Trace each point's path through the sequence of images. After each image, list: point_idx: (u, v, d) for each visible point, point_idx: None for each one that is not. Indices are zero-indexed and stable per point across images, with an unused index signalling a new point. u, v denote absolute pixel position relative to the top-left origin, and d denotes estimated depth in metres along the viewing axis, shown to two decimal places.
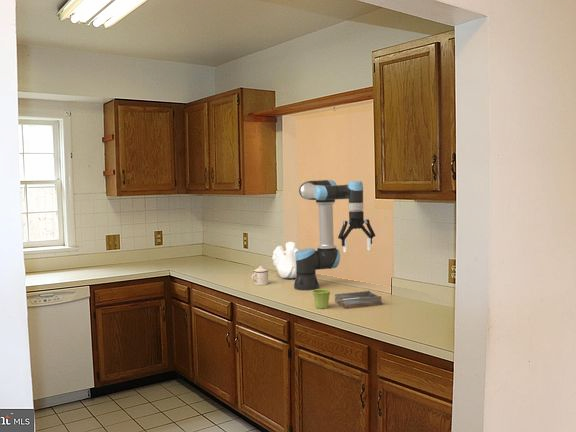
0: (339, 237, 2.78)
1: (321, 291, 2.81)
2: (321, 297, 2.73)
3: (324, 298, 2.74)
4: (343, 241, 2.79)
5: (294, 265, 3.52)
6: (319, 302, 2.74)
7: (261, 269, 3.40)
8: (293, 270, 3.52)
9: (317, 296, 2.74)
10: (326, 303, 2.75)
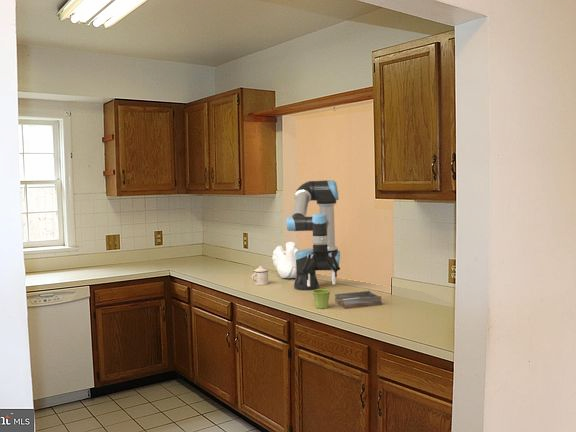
0: (302, 271, 2.72)
1: (321, 291, 2.81)
2: (321, 297, 2.73)
3: (324, 298, 2.74)
4: (306, 275, 2.73)
5: (294, 265, 3.52)
6: (319, 302, 2.74)
7: (261, 269, 3.40)
8: (293, 270, 3.52)
9: (317, 296, 2.74)
10: (326, 303, 2.75)
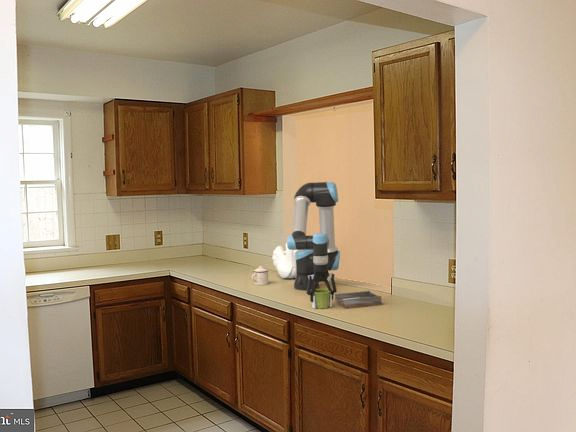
0: (307, 293, 2.74)
1: (321, 291, 2.81)
2: (321, 296, 2.73)
3: (324, 298, 2.74)
4: (311, 297, 2.75)
5: (294, 265, 3.52)
6: (319, 302, 2.74)
7: (261, 269, 3.40)
8: (293, 270, 3.52)
9: (317, 296, 2.74)
10: (326, 303, 2.75)
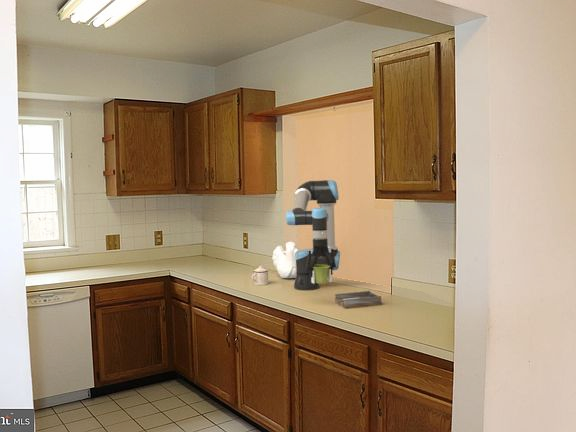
0: (307, 268, 2.73)
1: (320, 267, 2.81)
2: (320, 271, 2.73)
3: (323, 273, 2.73)
4: (311, 272, 2.74)
5: (294, 265, 3.52)
6: (318, 277, 2.74)
7: (261, 269, 3.40)
8: (293, 270, 3.52)
9: (316, 271, 2.73)
10: (325, 278, 2.74)
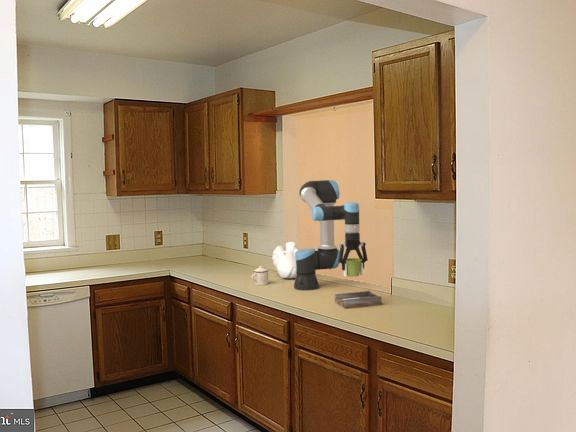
0: (339, 261, 2.78)
1: (352, 260, 2.85)
2: (353, 265, 2.77)
3: (356, 266, 2.78)
4: (343, 265, 2.79)
5: (294, 265, 3.52)
6: (351, 270, 2.78)
7: (261, 269, 3.40)
8: (293, 270, 3.52)
9: (349, 264, 2.78)
10: (357, 271, 2.79)
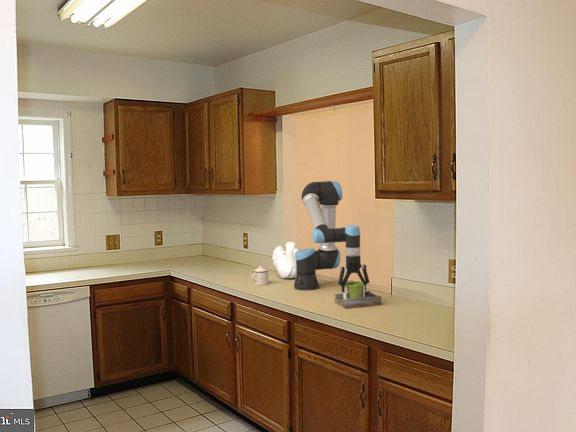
0: (339, 284, 2.79)
1: (353, 284, 2.86)
2: (355, 289, 2.78)
3: (358, 290, 2.79)
4: (343, 287, 2.80)
5: (294, 265, 3.52)
6: (353, 295, 2.79)
7: (261, 269, 3.40)
8: (293, 270, 3.52)
9: (351, 289, 2.79)
10: (360, 295, 2.80)
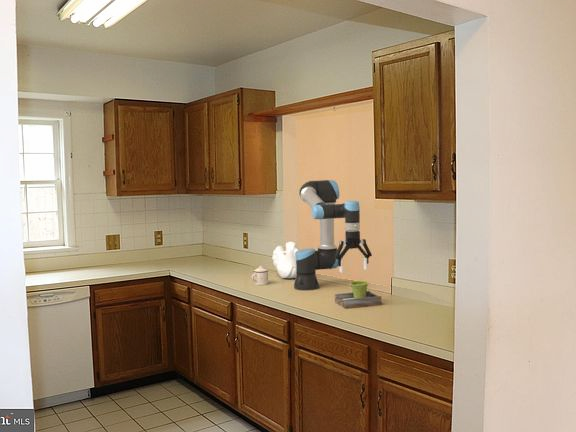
0: (335, 257, 2.77)
1: (358, 283, 2.87)
2: (359, 288, 2.79)
3: (362, 290, 2.80)
4: (339, 261, 2.78)
5: (294, 265, 3.52)
6: (357, 294, 2.80)
7: (261, 269, 3.40)
8: (293, 270, 3.52)
9: (355, 288, 2.80)
10: (364, 295, 2.81)
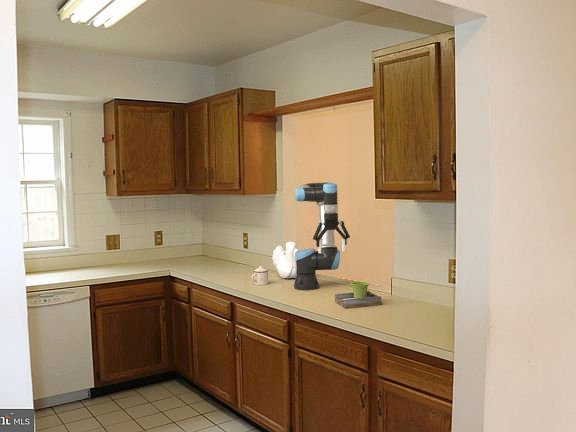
0: (314, 238, 2.84)
1: (359, 284, 2.87)
2: (359, 288, 2.79)
3: (363, 290, 2.80)
4: (318, 242, 2.85)
5: (294, 265, 3.52)
6: (357, 294, 2.80)
7: (261, 269, 3.40)
8: (293, 270, 3.52)
9: (356, 288, 2.80)
10: (364, 295, 2.81)
